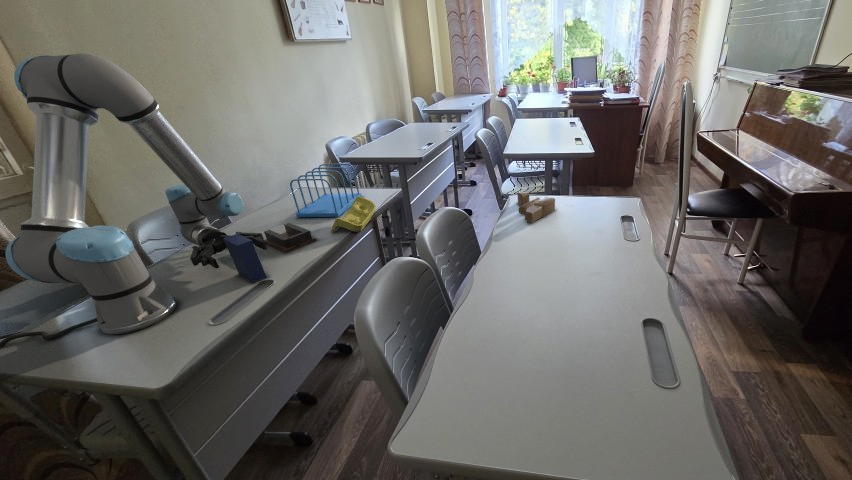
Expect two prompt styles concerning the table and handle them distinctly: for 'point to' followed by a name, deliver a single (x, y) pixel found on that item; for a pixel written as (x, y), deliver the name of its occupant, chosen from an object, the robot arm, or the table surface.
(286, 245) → the dark brown block holder
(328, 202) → the file sorter
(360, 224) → the plastic component
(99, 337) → the table surface
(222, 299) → the table surface
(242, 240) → the navy blue rectangular block
